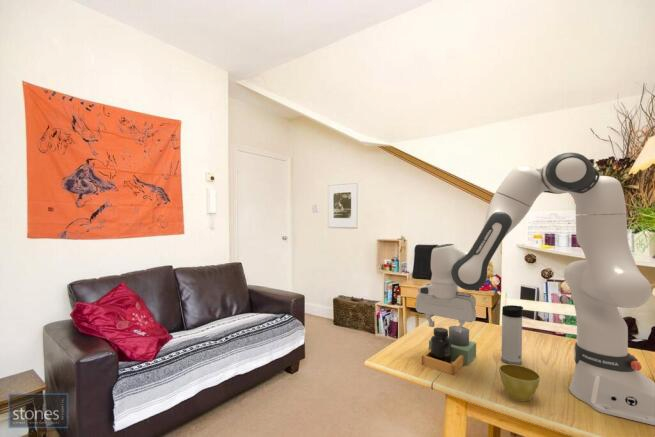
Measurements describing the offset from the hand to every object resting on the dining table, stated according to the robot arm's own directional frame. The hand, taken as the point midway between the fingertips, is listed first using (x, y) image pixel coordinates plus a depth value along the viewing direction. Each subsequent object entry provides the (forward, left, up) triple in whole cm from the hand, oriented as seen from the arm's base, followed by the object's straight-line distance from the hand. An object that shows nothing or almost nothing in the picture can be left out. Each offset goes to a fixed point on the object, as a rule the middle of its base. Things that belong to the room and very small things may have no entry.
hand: (444, 329), depth 110 cm
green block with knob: (0, -9, -12) cm, 15 cm away
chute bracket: (0, 0, -12) cm, 12 cm away
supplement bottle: (+1, 0, -13) cm, 13 cm away
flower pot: (-24, +6, -13) cm, 27 cm away
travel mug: (-18, -18, -13) cm, 28 cm away
